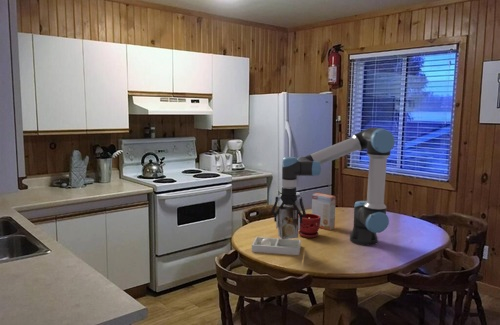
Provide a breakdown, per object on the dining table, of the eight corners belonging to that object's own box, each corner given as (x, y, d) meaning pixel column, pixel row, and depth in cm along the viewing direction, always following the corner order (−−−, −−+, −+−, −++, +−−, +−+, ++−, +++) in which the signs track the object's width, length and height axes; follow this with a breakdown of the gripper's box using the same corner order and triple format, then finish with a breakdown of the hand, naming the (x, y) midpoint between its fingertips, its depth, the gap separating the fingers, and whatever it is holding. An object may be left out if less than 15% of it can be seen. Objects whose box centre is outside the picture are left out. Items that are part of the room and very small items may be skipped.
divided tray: (300, 247, 226) (300, 239, 225) (298, 256, 213) (299, 248, 212) (256, 244, 230) (256, 236, 230) (251, 253, 217) (251, 245, 216)
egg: (271, 246, 224) (271, 237, 224) (269, 250, 219) (269, 240, 219) (261, 245, 225) (261, 236, 225) (260, 249, 220) (260, 239, 219)
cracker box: (334, 228, 260) (336, 195, 257) (329, 230, 256) (330, 197, 253) (316, 223, 270) (317, 192, 267) (311, 225, 266) (311, 193, 263)
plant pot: (319, 239, 239) (320, 219, 237) (296, 238, 242) (296, 218, 240) (320, 232, 252) (321, 213, 250) (298, 231, 254) (298, 212, 253)
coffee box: (294, 234, 223) (294, 205, 221) (298, 238, 217) (299, 208, 215) (277, 235, 221) (278, 206, 219) (281, 239, 215) (282, 209, 213)
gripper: (312, 186, 217) (310, 227, 220) (267, 184, 221) (267, 224, 224) (311, 189, 209) (310, 232, 213) (265, 187, 214) (265, 229, 217)
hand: (288, 228), depth 218 cm, fingers closed on coffee box, 11 cm apart
